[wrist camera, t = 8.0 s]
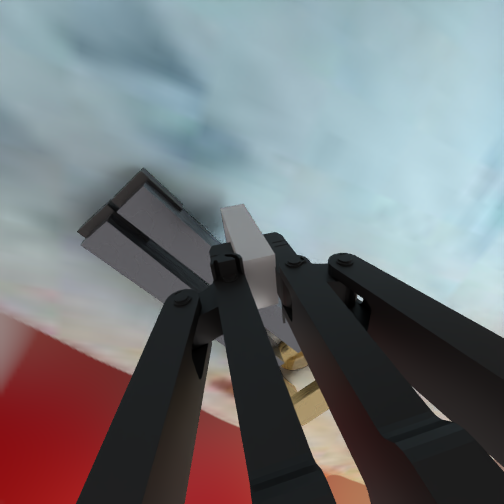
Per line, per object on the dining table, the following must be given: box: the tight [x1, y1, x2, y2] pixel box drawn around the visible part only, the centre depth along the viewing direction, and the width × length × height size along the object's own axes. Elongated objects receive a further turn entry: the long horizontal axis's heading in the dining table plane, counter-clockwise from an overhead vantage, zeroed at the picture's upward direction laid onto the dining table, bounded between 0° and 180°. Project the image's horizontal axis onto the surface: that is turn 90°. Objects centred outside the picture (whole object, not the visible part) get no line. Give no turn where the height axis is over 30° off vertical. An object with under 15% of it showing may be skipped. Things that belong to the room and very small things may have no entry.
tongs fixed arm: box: [77, 200, 308, 370], centre depth 20 cm, size 23×5×2 cm, turn 36°
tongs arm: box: [111, 168, 301, 353], centre depth 19 cm, size 18×2×2 cm, turn 39°
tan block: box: [284, 379, 329, 426], centre depth 26 cm, size 4×8×4 cm, turn 126°
